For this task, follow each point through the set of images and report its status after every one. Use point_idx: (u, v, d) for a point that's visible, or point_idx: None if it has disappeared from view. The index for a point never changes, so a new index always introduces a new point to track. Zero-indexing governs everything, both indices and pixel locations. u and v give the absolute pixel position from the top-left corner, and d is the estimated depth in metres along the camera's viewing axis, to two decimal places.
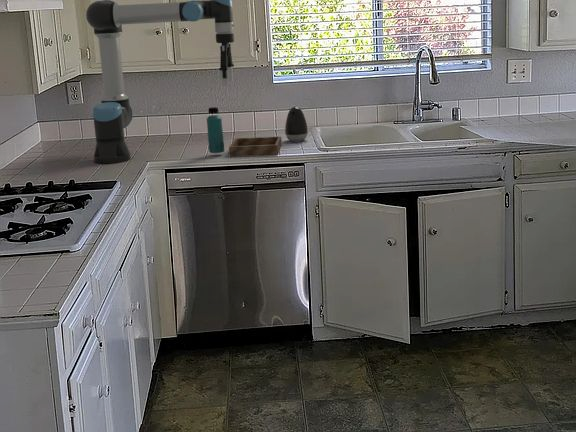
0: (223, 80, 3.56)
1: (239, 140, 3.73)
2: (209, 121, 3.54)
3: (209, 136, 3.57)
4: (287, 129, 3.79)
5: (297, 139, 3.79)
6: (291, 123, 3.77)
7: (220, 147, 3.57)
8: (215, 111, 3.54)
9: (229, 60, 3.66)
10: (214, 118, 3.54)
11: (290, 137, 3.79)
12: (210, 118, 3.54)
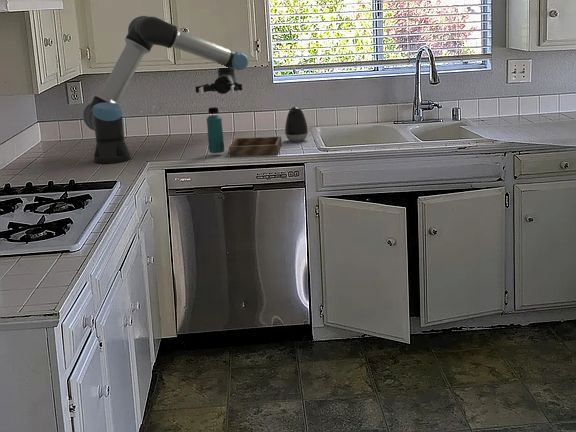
0: (233, 87, 3.65)
1: (239, 140, 3.73)
2: (209, 121, 3.54)
3: (209, 136, 3.57)
4: (287, 129, 3.79)
5: (297, 139, 3.79)
6: (291, 123, 3.77)
7: (220, 147, 3.57)
8: (215, 111, 3.54)
9: (208, 90, 3.73)
10: (214, 118, 3.54)
11: (290, 137, 3.79)
12: (210, 118, 3.54)
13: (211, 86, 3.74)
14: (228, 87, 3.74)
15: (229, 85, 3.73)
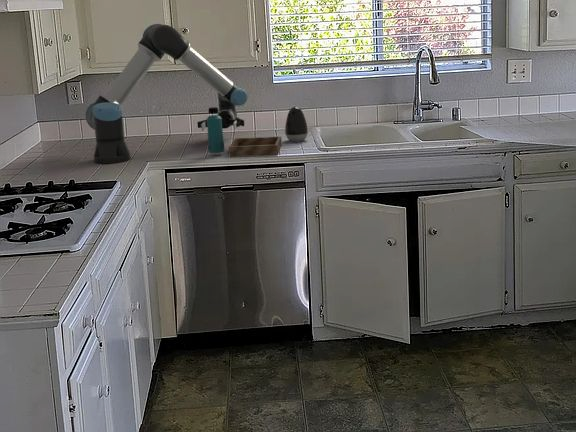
0: (235, 123, 3.65)
1: (239, 140, 3.73)
2: (209, 121, 3.54)
3: (209, 136, 3.57)
4: (287, 129, 3.79)
5: (297, 139, 3.79)
6: (291, 123, 3.77)
7: (220, 147, 3.57)
8: (215, 111, 3.54)
9: None
10: (214, 118, 3.54)
11: (290, 137, 3.79)
12: (210, 118, 3.54)
13: None
14: (230, 122, 3.74)
15: (231, 120, 3.73)
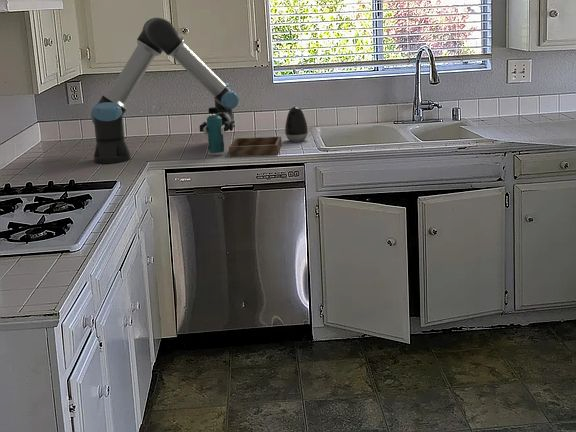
0: (223, 128, 3.55)
1: (239, 140, 3.73)
2: (209, 121, 3.54)
3: (209, 136, 3.57)
4: (287, 129, 3.79)
5: (297, 139, 3.79)
6: (291, 123, 3.77)
7: (220, 147, 3.57)
8: (215, 111, 3.54)
9: None
10: (214, 118, 3.54)
11: (290, 137, 3.79)
12: (210, 118, 3.54)
13: None
14: None
15: (222, 124, 3.63)
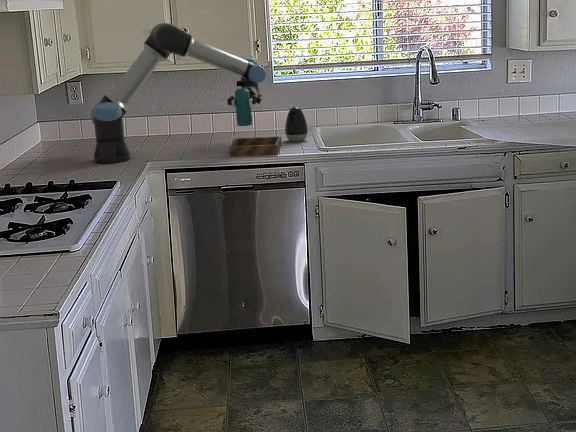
0: (251, 101, 3.55)
1: (239, 140, 3.73)
2: (237, 94, 3.55)
3: (237, 109, 3.57)
4: (287, 129, 3.79)
5: (297, 139, 3.79)
6: (291, 123, 3.77)
7: (248, 120, 3.58)
8: (243, 84, 3.55)
9: None
10: (242, 91, 3.54)
11: (290, 137, 3.79)
12: (238, 91, 3.55)
13: None
14: None
15: (250, 98, 3.64)
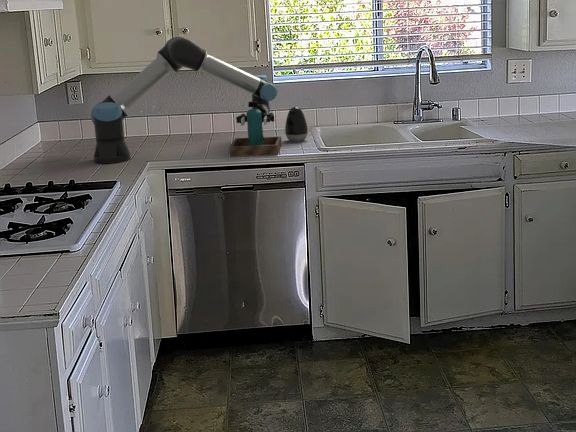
0: (266, 119, 3.59)
1: (239, 140, 3.73)
2: (249, 115, 3.59)
3: (249, 130, 3.61)
4: (287, 129, 3.79)
5: (297, 139, 3.79)
6: (291, 123, 3.77)
7: (260, 140, 3.62)
8: (255, 105, 3.58)
9: None
10: (254, 112, 3.58)
11: (290, 137, 3.79)
12: (250, 112, 3.58)
13: None
14: (262, 117, 3.69)
15: (263, 116, 3.67)
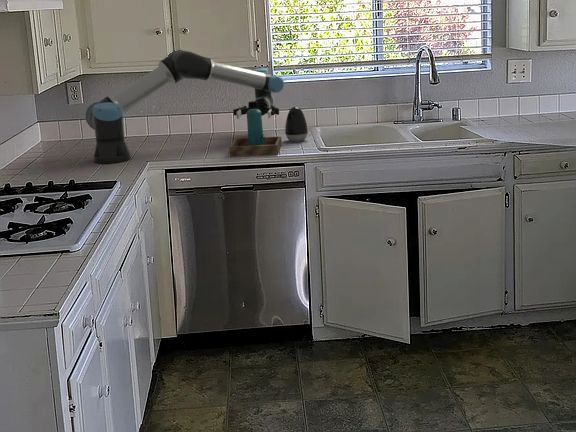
0: (270, 112, 3.71)
1: (239, 140, 3.73)
2: (249, 115, 3.59)
3: (249, 130, 3.61)
4: (287, 129, 3.79)
5: (297, 139, 3.79)
6: (291, 123, 3.77)
7: (260, 140, 3.62)
8: (255, 105, 3.58)
9: (245, 112, 3.80)
10: (254, 112, 3.58)
11: (290, 137, 3.79)
12: (250, 112, 3.59)
13: (248, 109, 3.81)
14: (265, 110, 3.80)
15: (266, 109, 3.79)
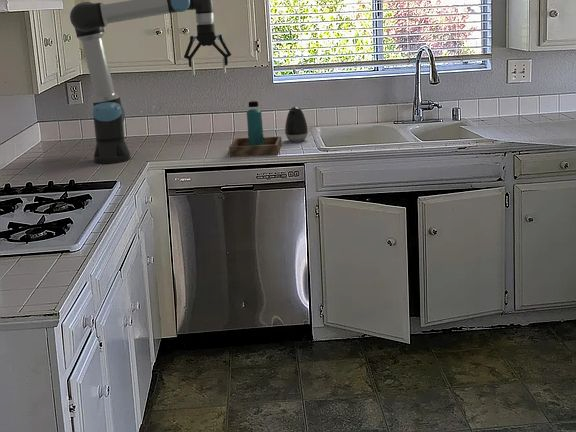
0: (225, 67, 3.70)
1: (239, 140, 3.73)
2: (249, 115, 3.59)
3: (249, 129, 3.61)
4: (287, 129, 3.79)
5: (297, 139, 3.79)
6: (291, 123, 3.77)
7: (260, 140, 3.62)
8: (255, 105, 3.58)
9: None
10: (254, 112, 3.58)
11: (290, 137, 3.79)
12: (250, 112, 3.59)
13: (198, 48, 3.69)
14: (215, 47, 3.69)
15: (217, 49, 3.68)
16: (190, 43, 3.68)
